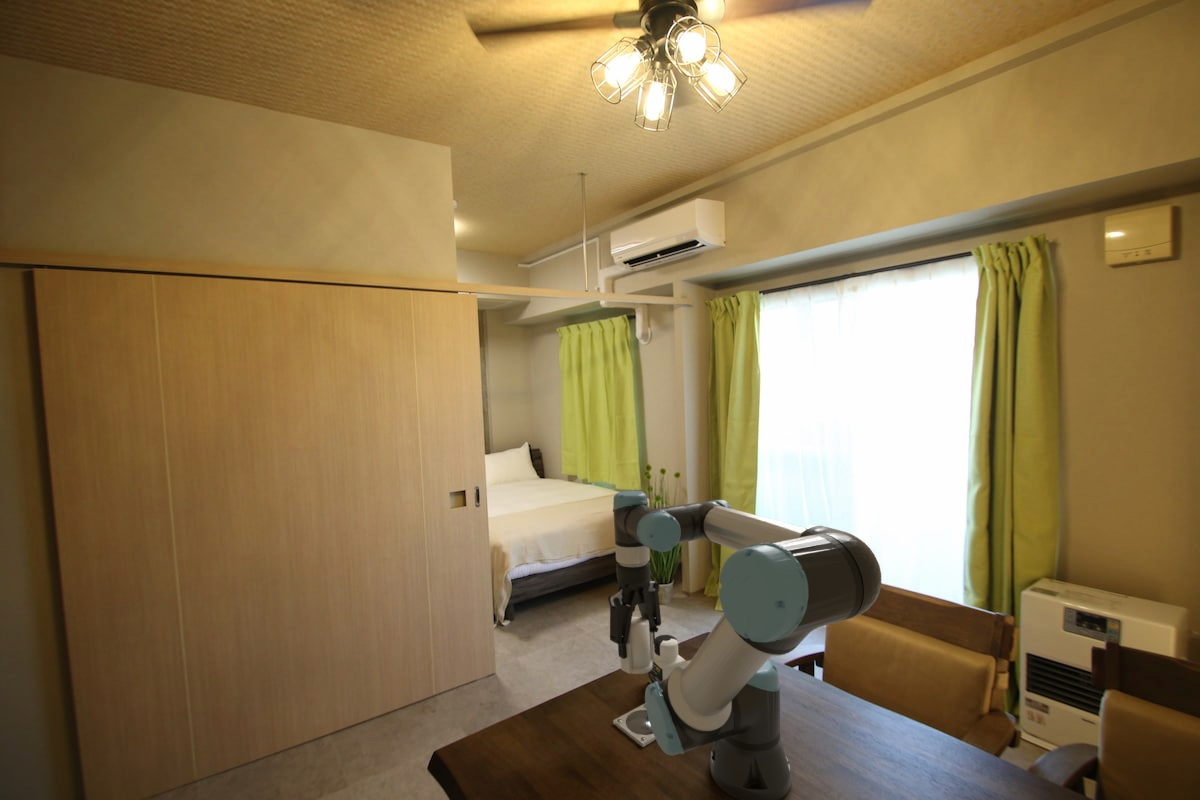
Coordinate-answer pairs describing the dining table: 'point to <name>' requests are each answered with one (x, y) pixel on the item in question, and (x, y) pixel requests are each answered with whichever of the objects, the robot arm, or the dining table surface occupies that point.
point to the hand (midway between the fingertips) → (638, 665)
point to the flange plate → (636, 725)
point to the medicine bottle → (664, 658)
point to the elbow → (640, 645)
